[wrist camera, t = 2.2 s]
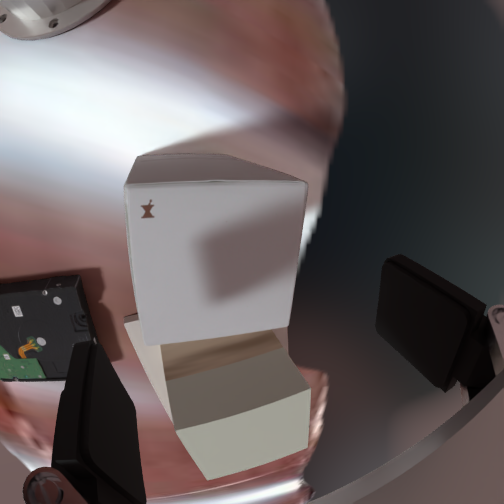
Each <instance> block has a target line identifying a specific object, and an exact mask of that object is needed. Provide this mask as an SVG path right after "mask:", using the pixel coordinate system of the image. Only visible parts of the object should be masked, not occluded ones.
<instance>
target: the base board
mask: <svg viewBox="0 0 504 504" xmlns="http://www.w3.org/2000/svg"><path fill="white" fill-rule="evenodd" d="M124 325H125V328H126V330H127V333H128V335H129V337H130V339H131V342H132V344H133V346H134V348H135V351H136V353H137V355H138V357H139V359H140V361H141V364H142V366H143V368H144V370H145V372H146V374H147V376H148V378H149V380H150V382H151V384H152V386H153V388H154V390H155V392H156V394H157V395H158V397H159V399H160V401H161V403H162V405H163V407H164V408H165V410H166V412H167V414H168V416H169V417H170V419H171V421H172V423H173V419H172V414H171V409H170V403H169V398H168V393H167V387H166V381H165V375H164V369H163V362H162V355H161V348H160V345H153V346H145V345H144V342H143V337H142V332H141V327H140V322H139V317H138V314H135V315H131V316H127V317H124ZM272 331H273V332H274V334H275V335H276V337H277V338H278V340H279V341H280V343H281V344H282V346H283V347H284V349H285V350H286V352H287V353H288V355H289V352H288V332H287V327H282V328H276V329H272Z"/></svg>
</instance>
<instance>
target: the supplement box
mask: <svg viewBox="0 0 504 504" xmlns="http://www.w3.org/2000/svg"><path fill="white" fill-rule="evenodd" d="M307 193H308V183H307V182H305V181H303V180H300V179H298V178H295V177H293V176H290V175H288V174H285V173H282V172H279V171H276V170H273V169H270V168H267V167H264V166H260V165H257V164H254V163H251V162H248V161H244V160H241V159H238V158H235V157H232V156H229V155H221V154H170V155H150V156H137V158H136V160H135V162H134V164H133V167H132V169H131V171H130V173H129V175H128V178H127V180H126V182H125V184H124V204H125V219H126V232H127V242H128V252H129V260H130V268H131V275H132V282H133V288H134V295H135V300H136V306H137V311H138V317H139V322H140V327H141V332H142V337H143V342H144V345H145V346H153V345H162V344H170V343H179V342H187V341H195V340H203V339H211V338H219V337H226V336H232V335H239V334H245V333H252V332H258V331H264V330H270V329H276V328H282V327H287V326H288V325H289V320H290V314H291V307H292V301H293V293H294V286H295V279H296V272H297V264H298V256H299V250H300V243H301V236H302V230H303V223H304V216H305V208H306V200H307Z"/></svg>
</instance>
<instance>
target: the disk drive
mask: <svg viewBox="0 0 504 504" xmlns="http://www.w3.org/2000/svg"><path fill="white" fill-rule="evenodd" d="M88 340H93V341H94V342H95V343H96V344H98V343H99V341H98V338H97V334H96V331H95V328H94V325H93V322H92V318H91V315H90V312H89V308H88V304H87V301H86V297H85V294H84V290H83V287H82V282H81V278H80V275H75V276H74V275H72V276H59V277H52V278H49V279H40V280H32V281H23V282H14V283H6V284H0V380H2V381H4V382H5V381H6V382H12V381H19V382H21V381H22V382H24V381H25V382H30V381H31V382H34V381H35V382H36V381H37V382H38V381H66V378H67V373H68V368H69V363H70V359H71V355H72V351H73V346H74V344H75V343H78V342H83V341H88Z"/></svg>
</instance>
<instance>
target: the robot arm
mask: <svg viewBox="0 0 504 504" xmlns="http://www.w3.org/2000/svg"><path fill="white" fill-rule="evenodd" d="M110 1H111V0H0V31H1V32H3V33H4V34H6V35H7V36H9V37H11V38H14V39H18V40H39V39H45V38H49V37H52V36H55V35H58V34H61V33H63V32H65V31H67V30H70V29H72V28H74V27H76V26H77V25H79V24H81V23H82V22H84V21H86V20H88V19H89V18H90V17H92V16H93V15H94V14H96V13H97V12H99V11H100V10H101V9H102V8H103V7H104V6H106V5H107V4H108V3H109V2H110ZM57 24H58V25H57ZM55 25H57V26H56V27H55ZM54 27H55V28H54ZM485 308H486V304H484V303H482V302H481V301H480V300H478V299H476V298H475V297H473V296H472V295H470V294H468V293H467V292H465V291H464V290H462V289H460V288H459V287H457V286H455V285H454V284H452V283H450V282H449V281H447V280H445V279H444V278H442V277H440V276H439V275H437V274H435V273H434V272H432V271H430V270H428V269H426V268H425V267H423V266H421V265H420V264H418V263H416V262H414V261H413V260H411V259H409V258H407V257H406V256H404V255H401V254H398V255H395V256H393V257H390V258H387V259H386V260H385V262H384V265H383V266H382V273H381V283H380V293H379V302H378V309H377V317H376V324H375V327H376V331H377V332H378V334H379V335H380V336H381V337H382V338H384V339H385V340H386V341H387V342H388V343H389V344H390V345H391V346H392V347H393V348H394V349H396V350H397V351H398V352H399V353H400V354H401V355H402V356H403V357H404V358H405V359H406V360H408V361H409V362H410V363H411V364H412V365H413V366H414V367H415V368H416V369H417V370H418V371H419V372H420V373H422V374H423V376H425V377H426V378H427V379H428V380H429V381H430V382H431V383H432V384H433V385H434V386H436V387H438V388H441V389H442V390H443V391H444V392H445V393H446V392H447V391H448V390H449V389H451V388H452V387H453V386H455V384H456V382H457V380H458V381H459V382H460V388H461V395H462V405H463V408H462V409H461V410H460V411H458V412H457V413H456V414H455V415H453V416H452V417H451V418H450V419H449V420H447V421H446V422H445V423H443V424H442V425H441V426H440V427H438V428H437V429H436V430H435V431H433V432H432V433H431V434H429V435H428V436H426V437H425V438H424V439H422V440H421V441H419V442H418V443H417V444H415V445H414V446H412V447H411V448H409V449H408V450H406V451H405V452H403V453H402V454H400V455H399V456H397V457H396V458H394V459H393V460H391V461H389V462H387V463H386V464H384V465H382V466H381V467H379V468H377V469H376V470H374V471H372V472H370V473H369V474H367V475H365V476H363V477H361V478H359V479H358V480H356V481H354V482H352V483H350V484H348V485H346V486H344V487H342V488H340V489H338V490H336V491H334V492H331V493H329V494H327V495H325V496H323V497H320V498H318V499H316V500H313V501H311V502H309V503H306V504H504V305H495V306H492V307H491V308H490V309H489V310H488V314H487V317H486V316H484V315H483V314H484V311H485ZM23 498H24V501H25V503H26V504H146V494H145V488H144V481H143V475H142V467H141V459H140V451H139V441H138V431H137V419H136V410H135V406H134V403H133V401H132V400H131V398H130V396H129V395H128V393H127V391H126V390H125V388H124V386H123V384H122V383H121V381H120V379H119V377H118V375H117V374H116V372H115V370H114V368H113V366H112V364H111V362H110V361H109V359H108V357H107V355H106V353H105V351H104V349H103V347H102V345H101V344H100V343H98V344H96V343H95V342H94V341H93V340H88V341H83V342H78V343H75V344H74V346H73V351H72V355H71V359H70V363H69V368H68V373H67V378H66V383H65V388H64V390H63V391H62V393H61V396H60V401H59V407H58V413H57V420H56V426H55V434H54V442H53V451H52V462H51V467H41V468H37V469H36V470H34V471H32V472H31V473H30V474H29V475H28V476H27V478H26V480H25V482H24V484H23Z"/></svg>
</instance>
